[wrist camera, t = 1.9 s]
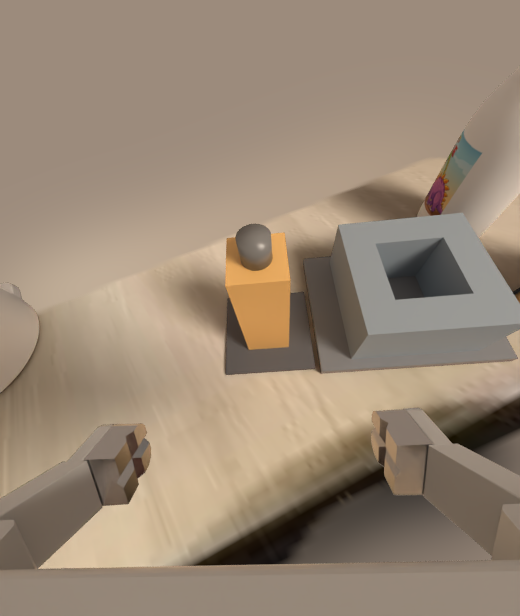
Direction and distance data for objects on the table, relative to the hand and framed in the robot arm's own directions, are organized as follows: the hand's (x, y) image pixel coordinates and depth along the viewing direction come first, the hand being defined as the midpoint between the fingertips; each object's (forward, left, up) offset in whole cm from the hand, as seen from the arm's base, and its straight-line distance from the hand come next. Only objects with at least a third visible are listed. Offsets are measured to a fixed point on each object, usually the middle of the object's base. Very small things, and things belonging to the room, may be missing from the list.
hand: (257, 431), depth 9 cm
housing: (+14, +13, -16) cm, 25 cm away
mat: (0, +11, -16) cm, 19 cm away
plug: (0, +11, -15) cm, 19 cm away
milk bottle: (+24, +24, -16) cm, 37 cm away
